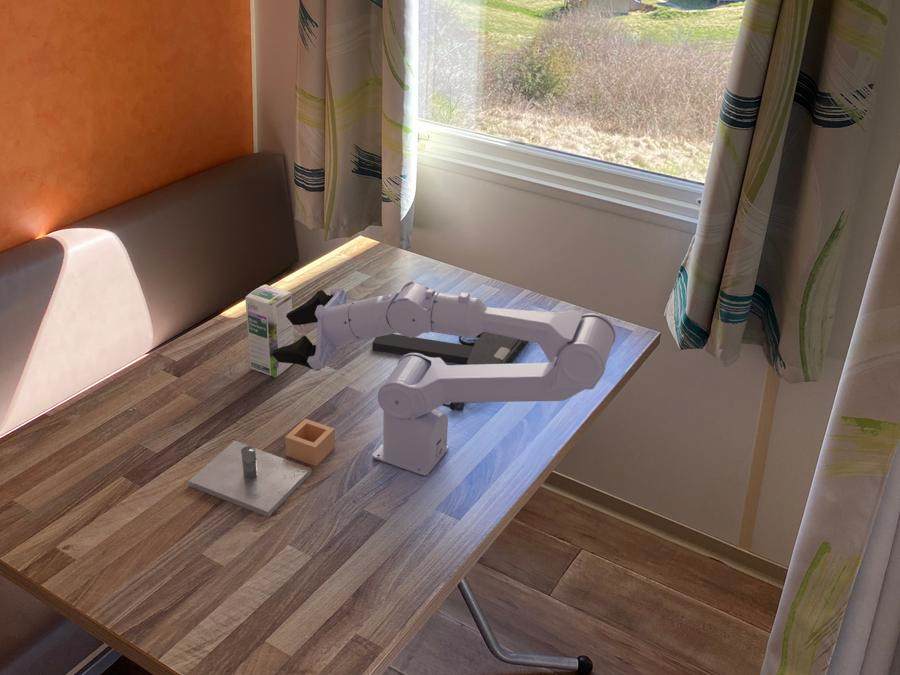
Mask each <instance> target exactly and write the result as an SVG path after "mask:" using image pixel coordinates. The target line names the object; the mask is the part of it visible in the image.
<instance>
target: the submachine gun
mask: <svg viewBox="0 0 900 675" xmlns="http://www.w3.org/2000/svg"><path fill="white" fill-rule="evenodd" d="M475 338H477V340H476V341H474V342H468V341H465V340H462V337H461V336H458V341H459V343H454V342H447V341H443V340H442V341H441V340H434V339H430V338H429V339H428V338H423V337H418V336H417V337H413V338H410V337H407V336H404V335H401V334H398V333H393V334H389V335H384V336H380V337H375V338H374V339H373V340H372V342H371V343H372V344H371V345H372V350H373V351H378V352H379V351H380V352H386V353H393V354H397V355H398V354H400V355H403V356H404V355H406V354H408V353H419V354H422V355H425V356H427V357H432V358H441V359H442V360H443V361H444V362H448V363H456V364H459V365H478V364H513V362H514V361H515V360H516V358H517V357H518V356H519V355H520V354H521V352H523V350H524V349H525V347H526V346H527V345H528V344H529V342H530V341H525V340H520V339H516V338H511V337H507V336H502V335H497V334H493V333H488V332H482V333H481V334H479V335H478V336H476V337H475ZM441 406H444V407H448V408H450V409H451V410H452V411H454V410H456V411H463V410H464V408H465V402H449V404H448V403H444V404H442V405H441ZM458 406H459V407H458Z"/></svg>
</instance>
